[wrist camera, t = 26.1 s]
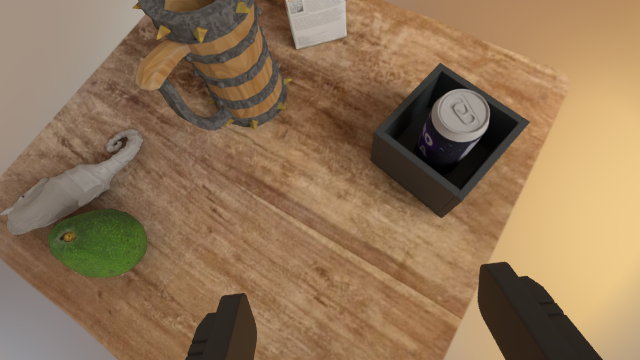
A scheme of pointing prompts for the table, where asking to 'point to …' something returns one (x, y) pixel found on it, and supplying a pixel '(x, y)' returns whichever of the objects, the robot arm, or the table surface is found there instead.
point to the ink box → (316, 21)
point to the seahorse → (70, 188)
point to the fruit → (99, 242)
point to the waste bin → (404, 131)
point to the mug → (215, 60)
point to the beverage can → (452, 129)
